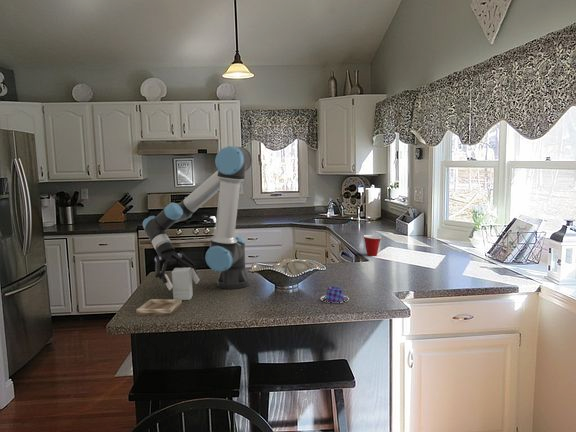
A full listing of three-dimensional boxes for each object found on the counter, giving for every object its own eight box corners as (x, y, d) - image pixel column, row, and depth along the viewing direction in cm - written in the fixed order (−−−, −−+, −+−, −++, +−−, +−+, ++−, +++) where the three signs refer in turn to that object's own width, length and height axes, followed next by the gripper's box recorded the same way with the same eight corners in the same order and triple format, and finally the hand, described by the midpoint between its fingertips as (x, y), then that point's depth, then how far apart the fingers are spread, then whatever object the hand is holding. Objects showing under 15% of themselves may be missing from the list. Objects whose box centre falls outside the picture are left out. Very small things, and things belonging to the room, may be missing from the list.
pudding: (355, 299, 196) (354, 287, 196) (338, 306, 187) (338, 293, 187) (331, 294, 204) (331, 282, 204) (314, 301, 195) (314, 288, 195)
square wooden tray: (182, 304, 193) (182, 299, 193) (170, 315, 180) (170, 310, 179) (150, 303, 195) (150, 299, 195) (135, 314, 181) (135, 309, 181)
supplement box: (193, 295, 206) (191, 267, 205) (190, 300, 199) (189, 271, 198) (176, 295, 206) (174, 267, 205) (172, 300, 199) (171, 271, 197)
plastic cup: (381, 257, 277) (381, 237, 276) (363, 257, 279) (363, 237, 278) (381, 253, 288) (381, 234, 286) (363, 253, 290) (363, 234, 289)
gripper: (183, 247, 220) (204, 284, 212) (135, 256, 202) (156, 296, 194) (190, 237, 216) (211, 274, 208) (140, 245, 198) (162, 286, 189)
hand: (184, 285), depth 201 cm, fingers open, 13 cm apart
